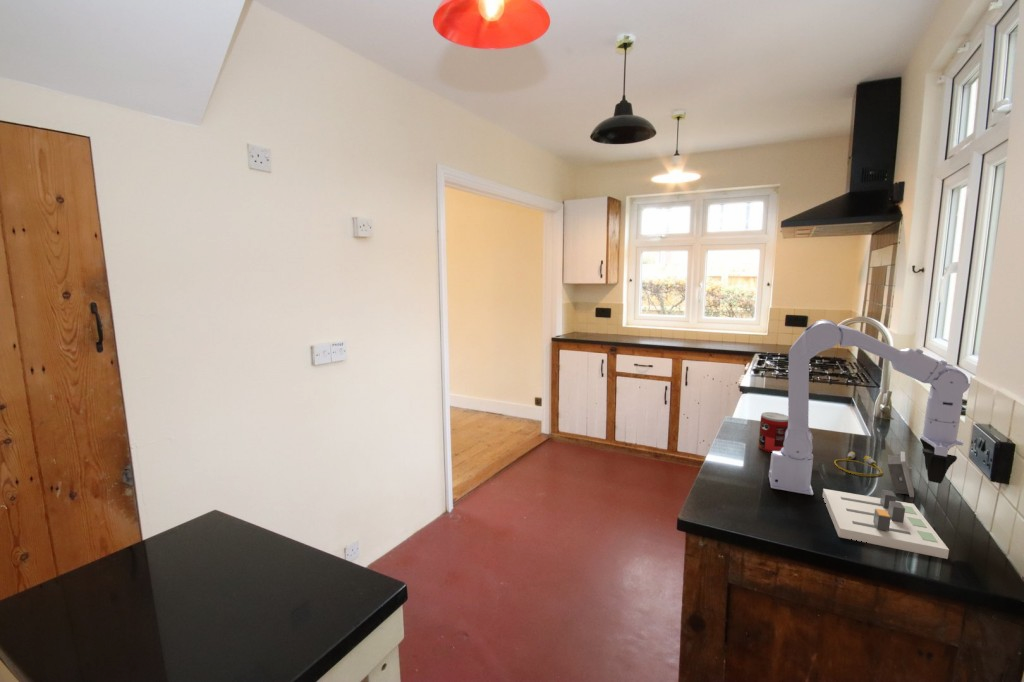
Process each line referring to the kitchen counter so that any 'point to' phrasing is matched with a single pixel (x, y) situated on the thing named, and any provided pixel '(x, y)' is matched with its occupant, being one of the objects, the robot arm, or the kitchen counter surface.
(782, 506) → the kitchen counter surface
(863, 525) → the breaker panel
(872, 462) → the extension cord
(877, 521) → the handle
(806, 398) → the robot arm
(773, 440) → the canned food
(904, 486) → the electrical switch
